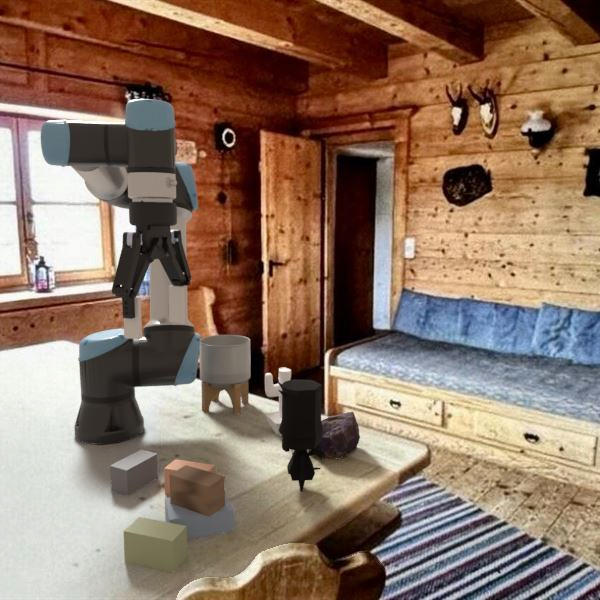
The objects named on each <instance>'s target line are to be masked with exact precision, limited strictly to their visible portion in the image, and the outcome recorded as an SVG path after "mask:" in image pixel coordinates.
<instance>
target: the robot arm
mask: <svg viewBox="0 0 600 600" xmlns="http://www.w3.org/2000/svg"><path fill="white" fill-rule="evenodd" d="M40 146H41V147H40V149H41V152H42V157H43V159H44V161H45V162H46V163H47V164H48V165H49V166H57V167H63V168H65V167H71V168H72V169H73V170H74V171H75V172H76V173H77V174H78V175H79V176H80V177H81V178H82V180H84V184H85V187H86V188H87V190H88V192H89V193H90V194H91V195H92V196H93V197H95V198H96V199H98V200H99V201H101V202H104V203H106V204H109V205H111V206H114V207H117V208H119V209H120V208H121V209H125V210H126V209H127V210H128V216H129V217H128V218H129V219H128V220H129V223H130V225H131V226H135V227H136V228H135V232H134V231H133V232H132V231H124V232H123V233H122V246H121V252H120V254H119V258H118V263H117V266H116V271H115V274H114V280H113V281H112V282H113V283H112V287H111V294H112V295H115V297H116V298H117V297H118V298H121V301H122V302H121V304H122V305H121V306H122V317H123V328H111V329H107V330H102V331H97V332H94V333H91V334H89V335H87V336H85V337H83V338H82V339H81V341H80V342H79V345H78V346H79V347H78V351H79V352H78V358H77V359H78V362H79V363H78V365H79V378H80V379H79V381H80V383H79V385H80V399H81V402H80V405H79V409H78V412H77V416H76V420H75V423H74V437H75V439H76V438H77V439H76V440H78V441H79V440H80V441H79V442H82V441H83V442H82V443H85V442H86V444H91V443H92V445H107V443H108V444H115V443H120V442H121V443H122V442H124V441H127V440H130V439H134V438H135V437H138V436H139V435H140V434H142V433H143V432H144V429H145V420H144V416H143V414H142V412H141V409H140V405H139V403H138V400H137V398H136V389H135V388H139V387H142V388H143V387H145V388H146V387H161V386H162V387H163V386H165V387H166V386H167V387H168V386H174V387H177V386H182V385H183V386H184V385H189V384H192V383H194V382H195V381H196V379H197V374H198V366H199V365H198V364H199V359H200V339H202V336H201V334H200V333H199V332H195V325H194V324H193V323H191V321H190V320H189V318H188V317H189V316H188V315H189V314H188V313H189V312H188V287H189V286H190V285H191V280H192V274H191V270H190V267H189V266H190V265H189V264H188V260H187V258H188V257H187V223H188V222H189V221H190V220H191V219H192V217H193V212H194V211H197V210H198V209H199V203H198V194H197V186H196V179H195V173H194V170H193V167H192V165H191V164H190V163H188V162H184V161H176V156H177V154H178V142H177V139H176V120H175V109H174V106H173V105H172V104H171V103H170V102H167V101H165V100H160V99H151V98H150V99H149V98H139V99H131V100H129V101H128V102H127V104H126V105H125V119H124V122H116V121H115V122H114V121H113V122H111V121H107V122H106V121H86V120H68V119H65V118H64V119H56V120H47V121H44V122H43V123H42V126H41V128H40ZM148 269H149V321H148V322H147V323H146V324H145V325H144V326H143V323H142V299H141V298H142V297H140V296H138V294H139V292H140V289H141V286H142V284H143V281H144V279H145V276H146V274H147V272H148ZM142 331H143V332H142ZM93 443H95V444H93Z"/></svg>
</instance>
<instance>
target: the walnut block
mask: <svg viewBox="0 0 600 600" xmlns="http://www.w3.org/2000/svg"><path fill="white" fill-rule="evenodd" d="M169 476H170V495H169V498H170V504H173V505H176V506H179V507H182V508H185V509H188V510H191V511H194V512H197V513H200V514H203V515H206V516H209V517H210V516H211V515H213V514H214V513H215V512H217V511H218V510H220V509H221V508H222V507H224V506H225V491H226V481H225V480H226V476H225V475H222V474H218V473H216V472H215V473H212V472H208V471H205V470H201V469H198V468H195V467H191V466H188V465H185V466H183V467H182V468H180V469H178V470H177V471H175V472H173V473H171V474H170V475H169Z"/></svg>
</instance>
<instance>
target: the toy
mask: <svg viewBox="0 0 600 600" xmlns="http://www.w3.org/2000/svg"><path fill="white" fill-rule="evenodd" d="M276 382H277V384H279V385H280V387H281V388H282V391H280V390H279V392H280V393H281V394H282V421H281V424H280V427H279V432H280V434H282V436H281V448H282V450H283V451H284V452H286V453H288V452H290V450H291V451H293V452H292V454H291V457H290V459H289V462H288V464H287V465H286V468H287V474H288V475H290V478H291V481H292V482H295V481H296V482H297V481H298V487H299V491H300V493H302V492H303V491H304V487H305V482H306V481H313V479H314V477H315V475H316V472H315V471H316V470H317V471H318V470H322V468H320V467H314V464H313V462H312V459H311V457H312V456H313V455H317V456H318V457H319V458H318V459H320V460H321V461H323V459H326V458H325V456H326V455H327V454H326V453H324V452H323V451H322V450H321V449H320V448H319V447H318V445H319V444H320V442H321V437H322V431H323V428H322V422H321V421H322V391H323V390H322V385H323V384H321V383H319V382H317V381H315V380H312V379H290V380H289V381H286V382H284V383H283V384H281V383H279V380H276ZM309 449H312V450H311V451H310V452H309ZM325 454H326V455H325ZM324 455H325V456H324ZM313 457H314V456H313ZM322 457H323V458H322Z"/></svg>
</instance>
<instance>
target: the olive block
mask: <svg viewBox="0 0 600 600" xmlns="http://www.w3.org/2000/svg"><path fill="white" fill-rule="evenodd" d="M123 549H124V550H123V551H124V552H123V553H124V555H123V556H124V562H125V563H128V564H132V565H137V566H140V567H141V566H142V567H147V568H151V569H154V570H159V571H163V572H168V573H171V574H173V573H175V572H176V571H177V569H179V567H180V566H181V565H182V564H183V563H184V561H185V560H186V559H187V558H188V539H187V526H184V525H178V524H173V523H168V522H166V521H162V520H158V519H157V520H156V519H151V518H147V517H142V516H138V517H137V518H136V519H135V520H134V521H132V523H131V524H129V525H128V526H127V527H126V528H125V529H124V530H123ZM186 557H187V558H186ZM181 563H182V564H181ZM180 564H181V565H180Z"/></svg>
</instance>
